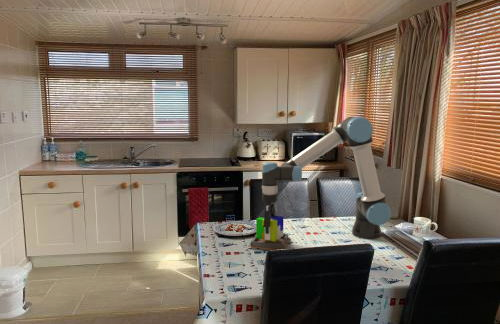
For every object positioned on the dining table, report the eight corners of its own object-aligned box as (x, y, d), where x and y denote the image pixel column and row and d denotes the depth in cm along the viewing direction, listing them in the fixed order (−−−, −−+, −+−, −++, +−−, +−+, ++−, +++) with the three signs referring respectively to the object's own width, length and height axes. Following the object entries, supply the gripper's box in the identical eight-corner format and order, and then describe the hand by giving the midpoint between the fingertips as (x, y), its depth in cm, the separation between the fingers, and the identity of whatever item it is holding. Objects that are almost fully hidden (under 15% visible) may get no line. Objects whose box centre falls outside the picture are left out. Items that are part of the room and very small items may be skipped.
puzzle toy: (283, 235, 196) (283, 216, 194) (274, 241, 187) (274, 221, 186) (266, 232, 201) (266, 214, 199) (256, 238, 192) (256, 218, 191)
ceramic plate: (206, 236, 208) (205, 230, 207) (225, 222, 232) (224, 218, 231) (251, 241, 199) (250, 235, 199) (265, 227, 223) (265, 222, 223)
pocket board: (256, 236, 205) (256, 231, 205) (290, 239, 201) (290, 233, 200) (248, 248, 188) (248, 242, 188) (284, 251, 184) (284, 245, 183)
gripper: (267, 188, 203) (267, 228, 206) (257, 198, 180) (257, 242, 183) (281, 188, 201) (281, 229, 204) (272, 199, 179) (272, 244, 182)
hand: (269, 235), depth 194 cm, fingers closed on puzzle toy, 11 cm apart
